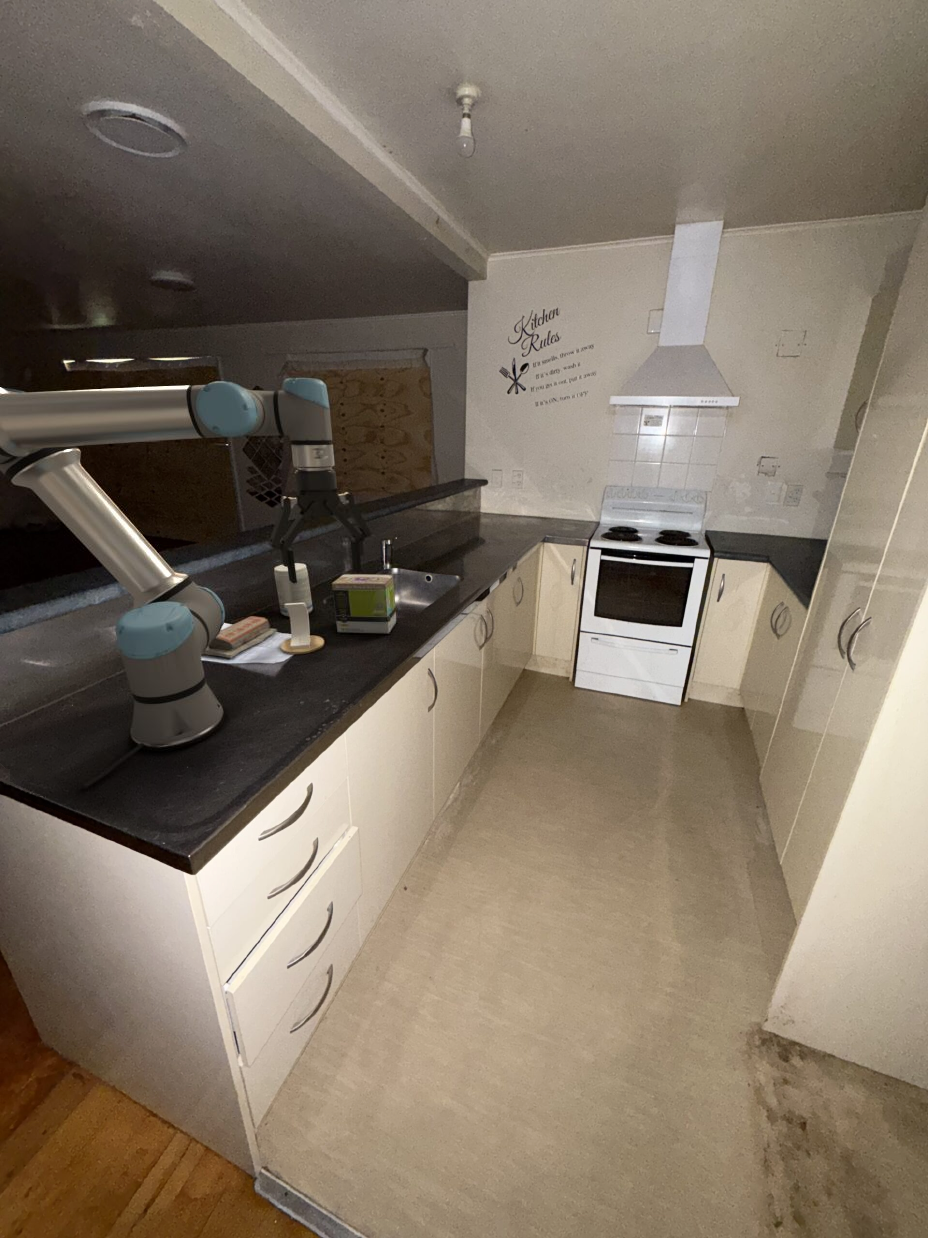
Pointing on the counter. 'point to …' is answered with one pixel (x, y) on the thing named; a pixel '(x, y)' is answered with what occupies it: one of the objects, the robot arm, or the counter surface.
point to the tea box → (364, 603)
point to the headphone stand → (299, 625)
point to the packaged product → (240, 637)
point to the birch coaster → (314, 645)
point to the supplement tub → (293, 587)
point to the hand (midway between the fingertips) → (326, 576)
